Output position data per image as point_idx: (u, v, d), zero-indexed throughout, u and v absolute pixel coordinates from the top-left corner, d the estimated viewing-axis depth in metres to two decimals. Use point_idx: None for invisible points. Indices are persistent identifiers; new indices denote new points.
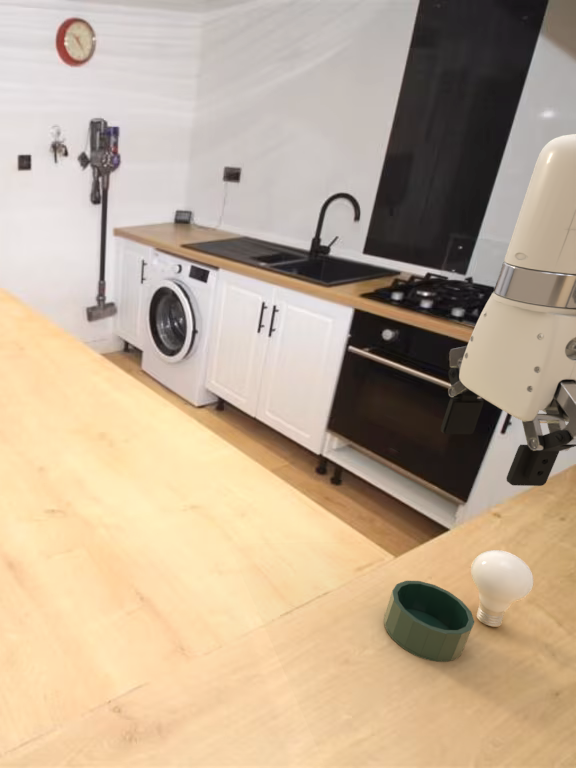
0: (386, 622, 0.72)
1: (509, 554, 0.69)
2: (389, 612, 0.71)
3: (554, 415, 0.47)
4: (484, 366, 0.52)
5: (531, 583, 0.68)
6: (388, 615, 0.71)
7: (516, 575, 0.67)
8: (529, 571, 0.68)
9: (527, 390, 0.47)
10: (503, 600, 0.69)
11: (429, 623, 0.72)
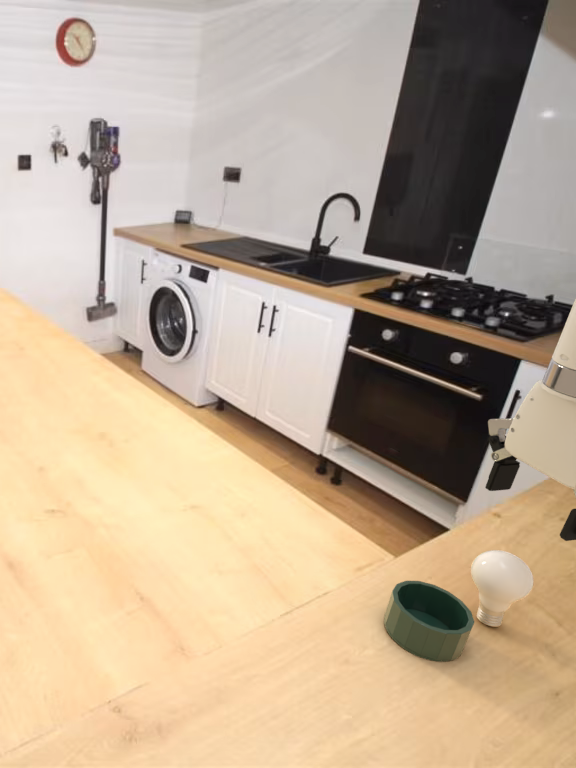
0: (386, 622, 0.72)
1: (509, 554, 0.69)
2: (389, 612, 0.71)
3: None
4: (534, 442, 0.63)
5: (531, 583, 0.68)
6: (388, 615, 0.71)
7: (516, 575, 0.67)
8: (529, 571, 0.68)
9: None
10: (503, 600, 0.69)
11: (429, 623, 0.72)
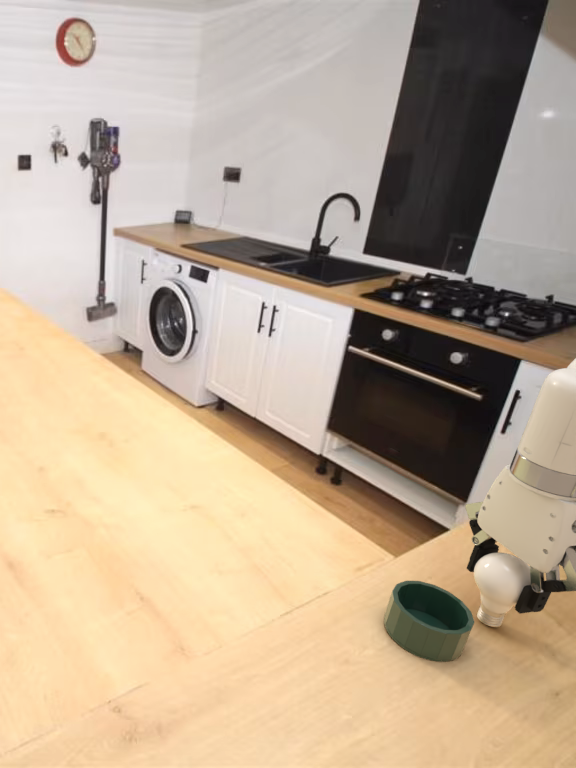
0: (386, 622, 0.72)
1: (514, 558, 0.69)
2: (389, 612, 0.71)
3: (553, 567, 0.64)
4: (502, 522, 0.67)
5: None
6: (388, 615, 0.71)
7: (519, 580, 0.67)
8: None
9: (543, 551, 0.63)
10: (505, 604, 0.68)
11: (429, 623, 0.72)
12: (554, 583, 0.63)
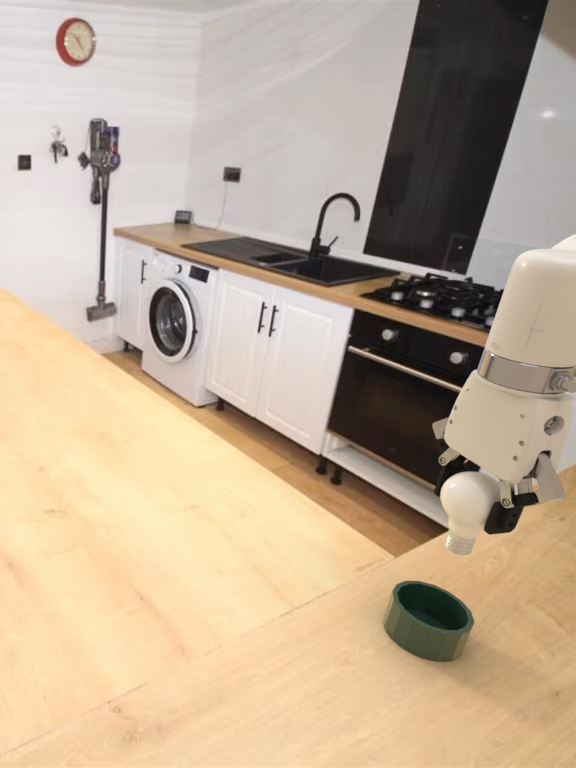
0: (386, 622, 0.72)
1: (483, 475, 0.62)
2: (389, 612, 0.71)
3: (525, 479, 0.57)
4: (470, 434, 0.60)
5: None
6: (388, 615, 0.71)
7: (488, 497, 0.60)
8: None
9: (513, 459, 0.56)
10: (474, 526, 0.61)
11: (429, 623, 0.72)
12: (525, 495, 0.56)
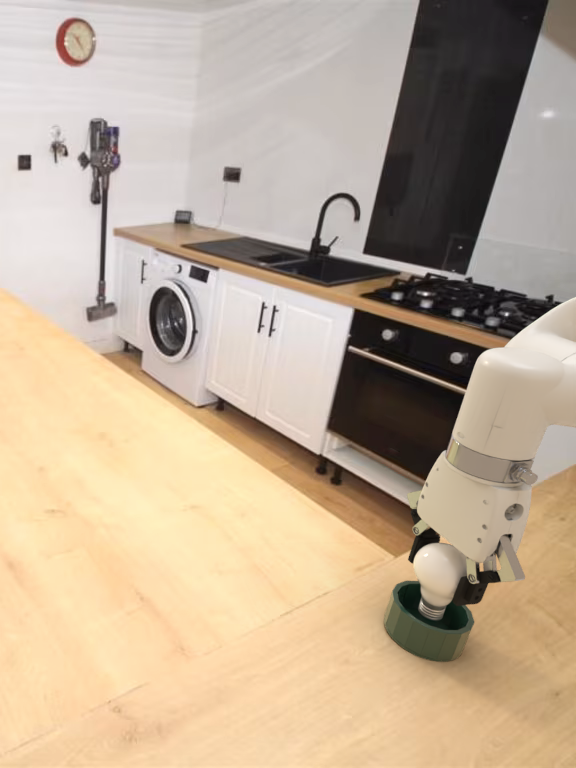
0: (386, 622, 0.72)
1: (452, 548, 0.66)
2: (389, 612, 0.71)
3: (490, 557, 0.61)
4: (439, 511, 0.64)
5: None
6: (388, 615, 0.71)
7: (456, 571, 0.64)
8: None
9: (477, 540, 0.60)
10: (443, 596, 0.65)
11: (429, 623, 0.72)
12: (489, 573, 0.60)
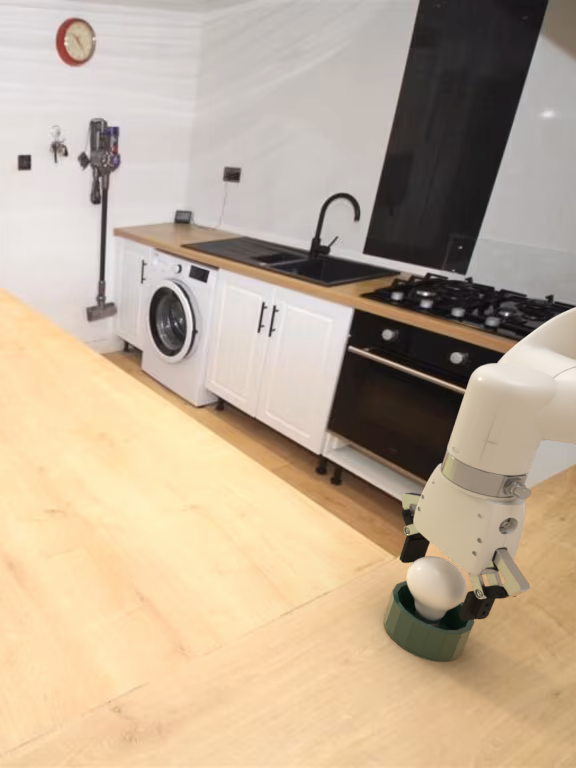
0: (386, 622, 0.72)
1: (443, 560, 0.68)
2: (389, 612, 0.71)
3: (491, 569, 0.61)
4: (435, 523, 0.65)
5: (464, 590, 0.66)
6: (388, 615, 0.71)
7: (448, 582, 0.65)
8: (462, 578, 0.66)
9: (472, 553, 0.61)
10: (437, 608, 0.67)
11: None
12: (496, 589, 0.59)
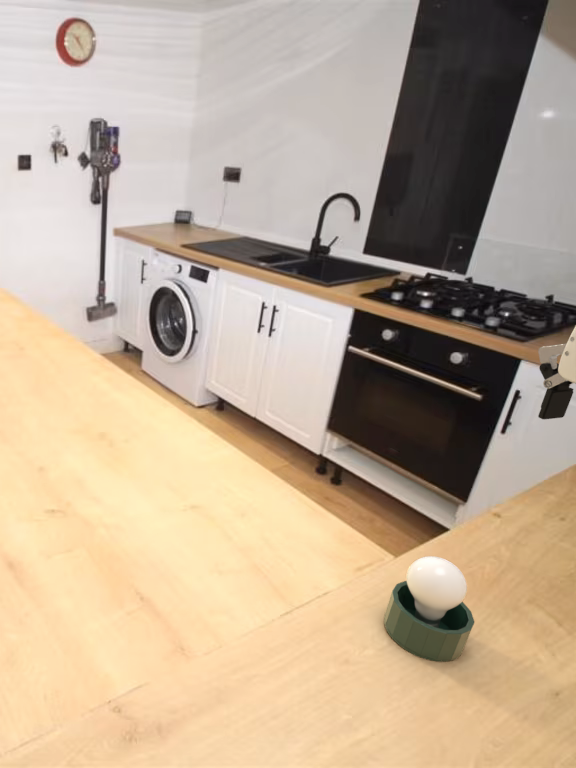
0: (386, 622, 0.72)
1: (443, 560, 0.68)
2: (389, 612, 0.71)
3: None
4: None
5: (464, 590, 0.66)
6: (388, 615, 0.71)
7: (448, 582, 0.65)
8: (462, 578, 0.66)
9: None
10: (437, 608, 0.67)
11: None
12: None
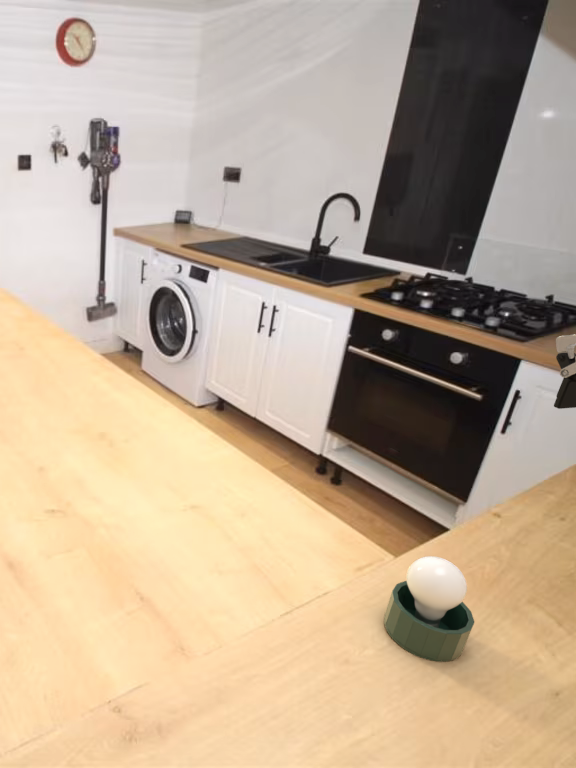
0: (386, 622, 0.72)
1: (443, 560, 0.68)
2: (389, 612, 0.71)
3: None
4: None
5: (464, 590, 0.66)
6: (388, 615, 0.71)
7: (448, 582, 0.65)
8: (462, 578, 0.66)
9: None
10: (437, 608, 0.67)
11: None
12: None
